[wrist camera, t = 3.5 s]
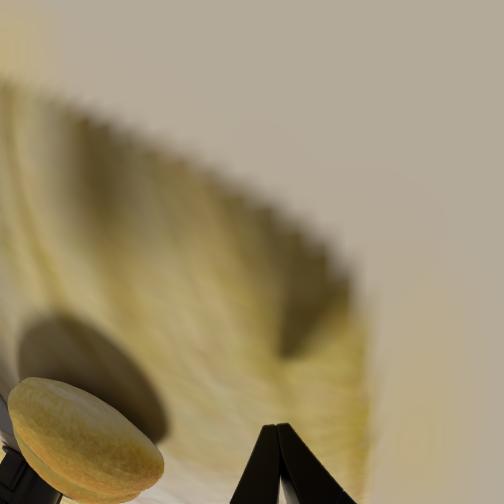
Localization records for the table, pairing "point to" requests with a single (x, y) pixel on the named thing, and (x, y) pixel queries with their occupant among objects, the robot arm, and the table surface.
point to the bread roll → (81, 443)
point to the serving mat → (5, 418)
